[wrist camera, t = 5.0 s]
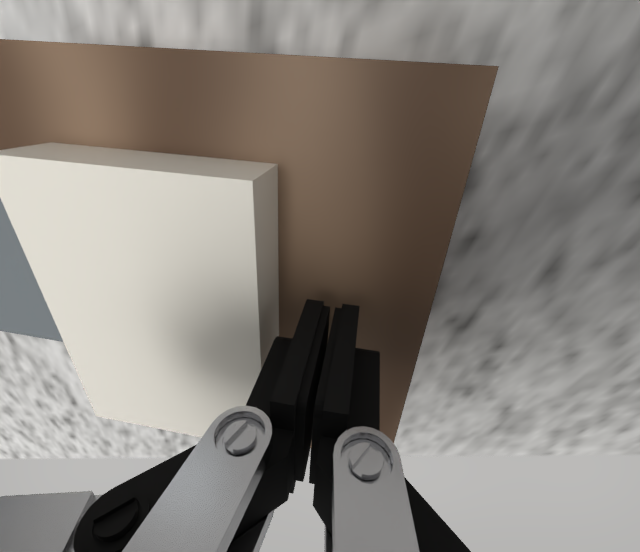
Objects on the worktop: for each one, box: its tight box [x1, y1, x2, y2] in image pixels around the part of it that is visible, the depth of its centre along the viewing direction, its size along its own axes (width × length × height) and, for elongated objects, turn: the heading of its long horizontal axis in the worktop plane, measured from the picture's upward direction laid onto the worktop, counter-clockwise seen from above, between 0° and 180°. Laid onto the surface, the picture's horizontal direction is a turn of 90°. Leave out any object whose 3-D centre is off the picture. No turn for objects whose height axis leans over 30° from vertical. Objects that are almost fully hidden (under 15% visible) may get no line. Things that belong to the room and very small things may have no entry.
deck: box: [0, 39, 499, 448], centre depth 13 cm, size 14×15×4 cm
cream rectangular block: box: [0, 142, 279, 437], centre depth 11 cm, size 7×10×2 cm
